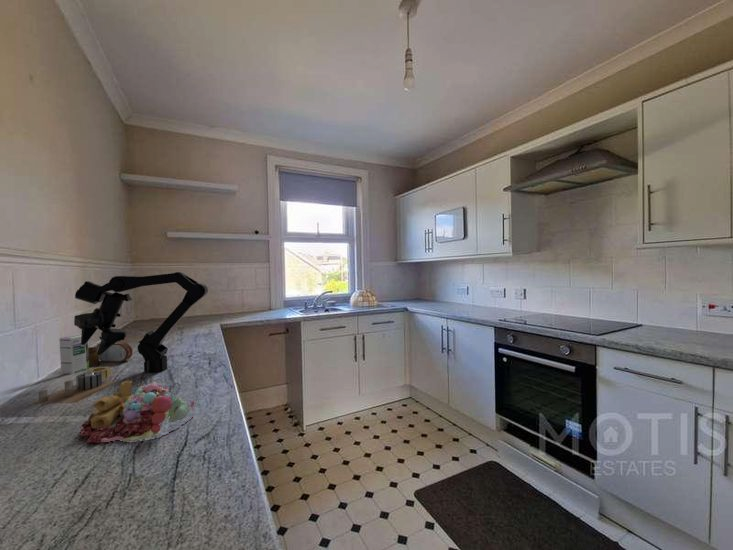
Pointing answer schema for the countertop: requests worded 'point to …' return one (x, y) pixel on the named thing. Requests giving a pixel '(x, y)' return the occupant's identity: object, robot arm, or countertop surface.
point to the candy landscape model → (133, 413)
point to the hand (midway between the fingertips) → (90, 349)
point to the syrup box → (73, 354)
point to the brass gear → (105, 371)
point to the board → (76, 394)
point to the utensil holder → (93, 355)
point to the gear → (89, 380)
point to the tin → (116, 352)
